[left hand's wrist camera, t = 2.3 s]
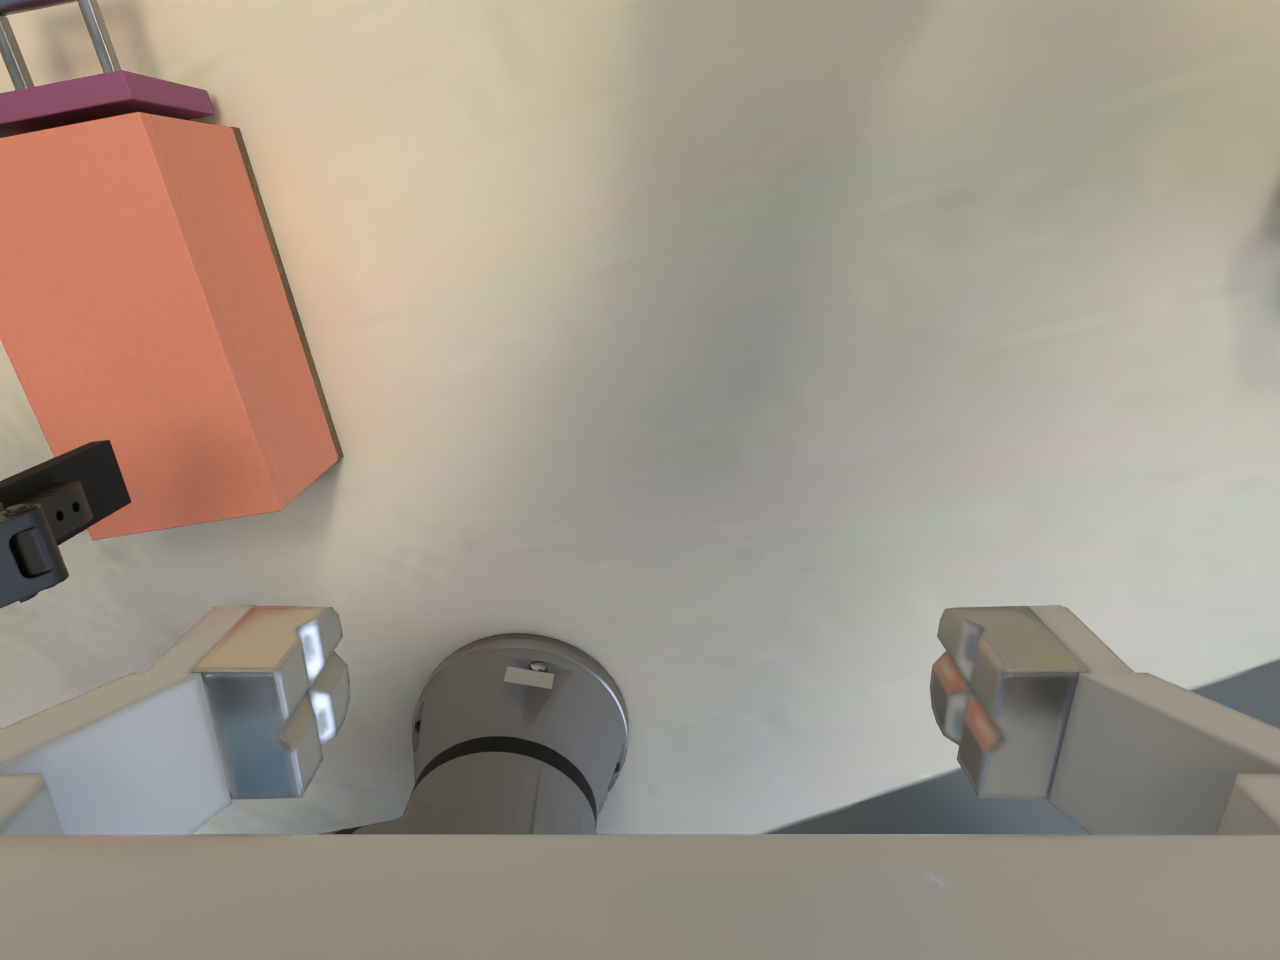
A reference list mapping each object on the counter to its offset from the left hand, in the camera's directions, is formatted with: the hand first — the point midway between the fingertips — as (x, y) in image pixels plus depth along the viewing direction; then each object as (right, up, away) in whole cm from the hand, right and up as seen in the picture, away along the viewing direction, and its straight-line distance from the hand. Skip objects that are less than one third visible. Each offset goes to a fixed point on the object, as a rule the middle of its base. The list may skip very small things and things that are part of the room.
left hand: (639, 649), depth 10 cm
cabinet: (-26, +12, +35) cm, 45 cm away
